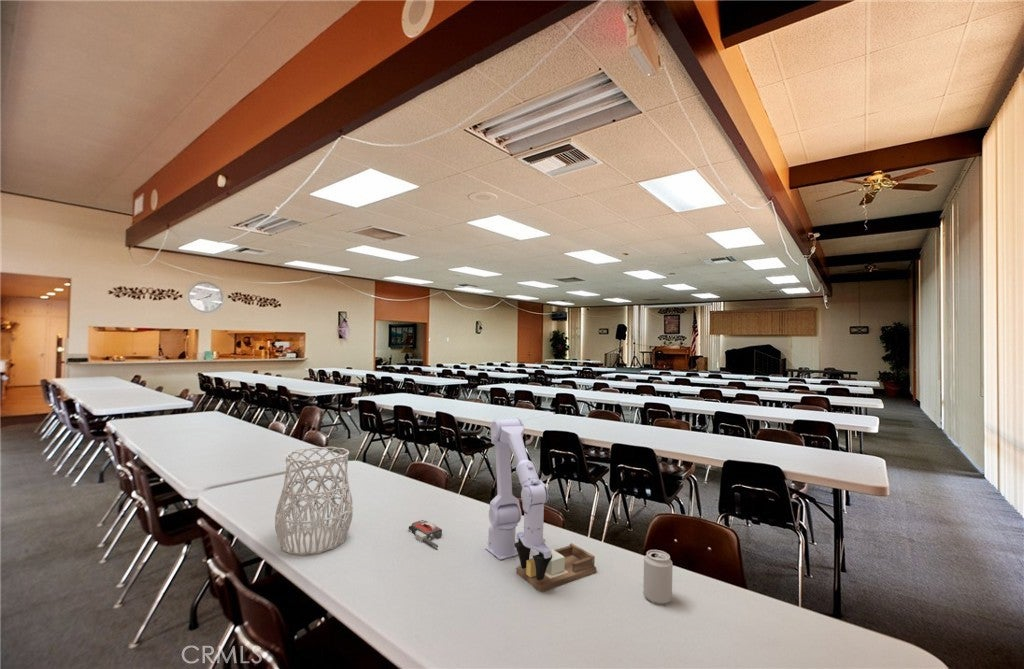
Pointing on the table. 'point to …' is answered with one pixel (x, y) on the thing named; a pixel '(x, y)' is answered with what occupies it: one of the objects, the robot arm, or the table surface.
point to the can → (657, 577)
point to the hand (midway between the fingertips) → (532, 573)
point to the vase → (321, 536)
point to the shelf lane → (575, 568)
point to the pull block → (553, 567)
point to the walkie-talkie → (426, 531)
